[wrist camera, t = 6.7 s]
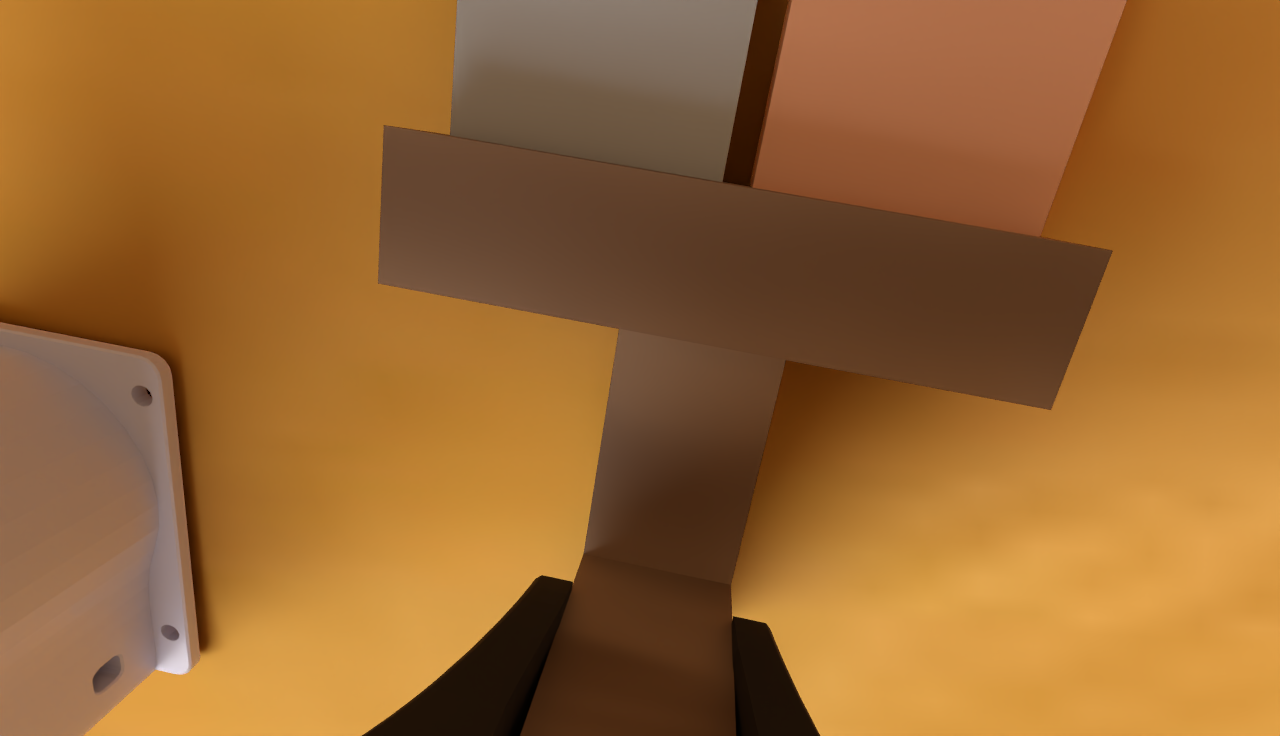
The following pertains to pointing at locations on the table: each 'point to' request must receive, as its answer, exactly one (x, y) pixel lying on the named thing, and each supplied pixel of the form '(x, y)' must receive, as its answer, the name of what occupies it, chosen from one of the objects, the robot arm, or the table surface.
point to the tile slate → (604, 78)
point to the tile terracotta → (933, 104)
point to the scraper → (708, 369)
